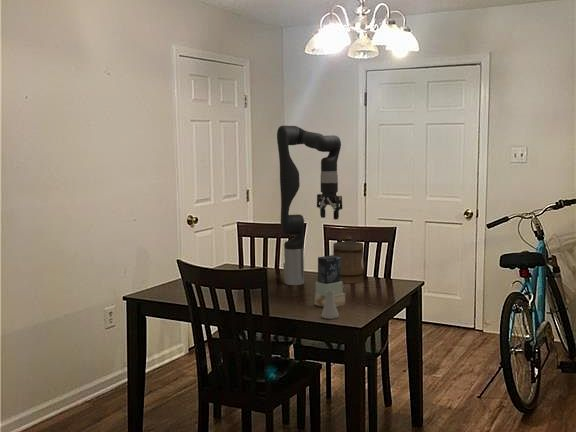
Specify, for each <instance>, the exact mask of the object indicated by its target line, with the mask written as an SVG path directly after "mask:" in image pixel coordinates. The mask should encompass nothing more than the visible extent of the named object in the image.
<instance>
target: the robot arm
mask: <svg viewBox="0 0 576 432" xmlns="http://www.w3.org/2000/svg"><path fill="white" fill-rule="evenodd" d="M276 142H277V148H278V149H277V150H278V159H279V187H280V206H281V207H280V231H281V233H282V234H283V235H294V237H292V238H290V239H288V240H287V241H284V245H283V247H284V248H283V249H284V255H283V256H284V262H283V283H284V284H285V285H288V286H301V285H304V284H305V259H304V258H305V256H304V255H305V253H304V251H305V247H304V244H305V238H304V237H305V219H304V216H303V215H302V214H290V213H289V211H290V207H291V204H292V202H293V200H294V198H295V197H296V195H297V193H298V191H299V189H300V172H299V169H298V167H297V166H296V164H295V163H294V160H293V159H292V157H291V155H290V149H289V146H297V145H304V146H306V147H307V148H311V149H314V150H316V151H318V152H322V153H328V155H327V156H326V157H323V158H321V160H320V193H318V194H317V195H316V207H317V208H318V209H319V215H320V218H322V219H323V218H324V219H325V218H326V208H327V206H330V207H331V208H332V210H333V220H339V218H340V217H339V215H340V214H339V213H340V210H342V209H343V196H342V195H337V193H338V191H339V179H338V177H339V175H338V159H339V155H340V151H341V147H342V141H341V139H340V137H339V136H338V135H332V134H331V135H324V134H322V133H320V132H312V131H308V130H305V129H303V128H302V127H299V126H296V125H280V126H279V127H278V129H277V133H276Z"/></svg>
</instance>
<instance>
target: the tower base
mask: <svg viewBox="0 0 576 432" xmlns="http://www.w3.org/2000/svg"><path fill="white" fill-rule="evenodd" d="M333 298H334V303H335V306H336V308H338V307H342V306H343V307H344V306H346V293H345V292H343V294H339V295H335V296H333ZM325 302H326V296H323V295H319V294H316V292H315V293H314V305H315V306H319V307H323V308H324V306H325Z"/></svg>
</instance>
